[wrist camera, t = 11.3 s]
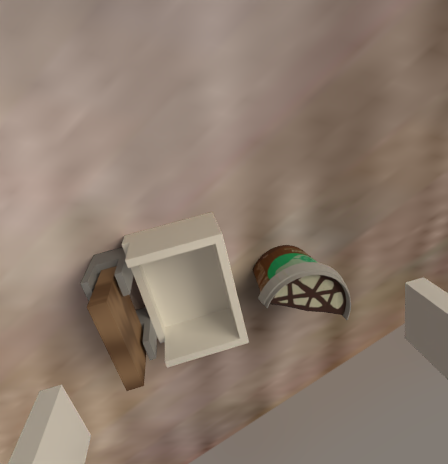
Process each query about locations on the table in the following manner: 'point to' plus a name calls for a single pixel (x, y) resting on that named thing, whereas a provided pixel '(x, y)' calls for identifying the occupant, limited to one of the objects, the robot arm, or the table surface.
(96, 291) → the door
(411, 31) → the table surface
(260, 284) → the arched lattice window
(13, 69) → the table surface
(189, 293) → the carcass
